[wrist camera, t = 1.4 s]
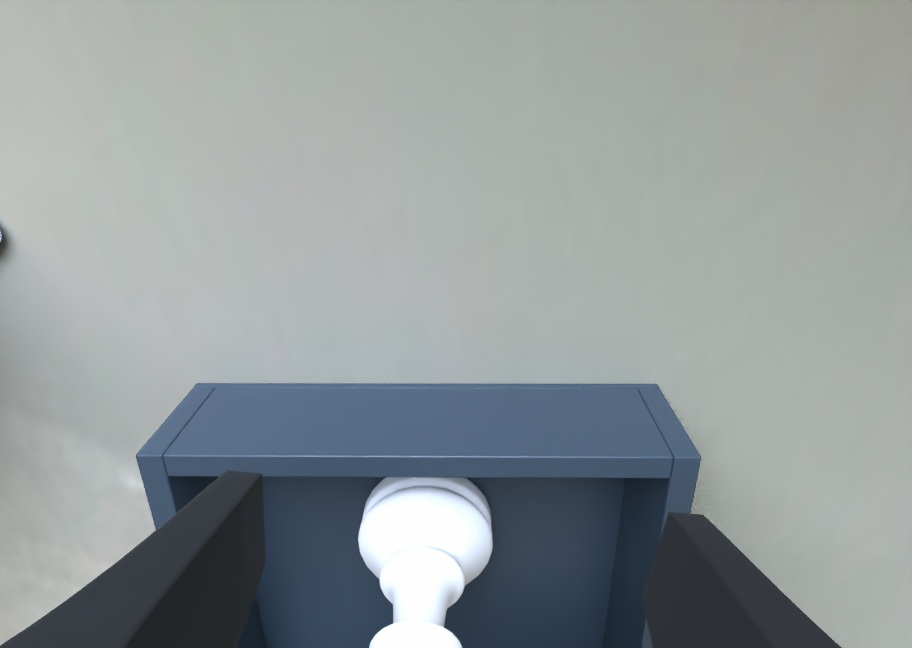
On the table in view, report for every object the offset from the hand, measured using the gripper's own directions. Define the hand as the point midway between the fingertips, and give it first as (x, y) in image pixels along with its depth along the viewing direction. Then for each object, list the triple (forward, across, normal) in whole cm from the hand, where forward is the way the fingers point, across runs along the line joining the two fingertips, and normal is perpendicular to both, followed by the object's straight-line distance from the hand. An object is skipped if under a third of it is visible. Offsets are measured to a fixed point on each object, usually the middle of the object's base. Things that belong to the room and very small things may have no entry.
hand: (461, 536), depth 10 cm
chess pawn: (+10, 0, +9) cm, 13 cm away
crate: (+10, 0, +10) cm, 14 cm away
